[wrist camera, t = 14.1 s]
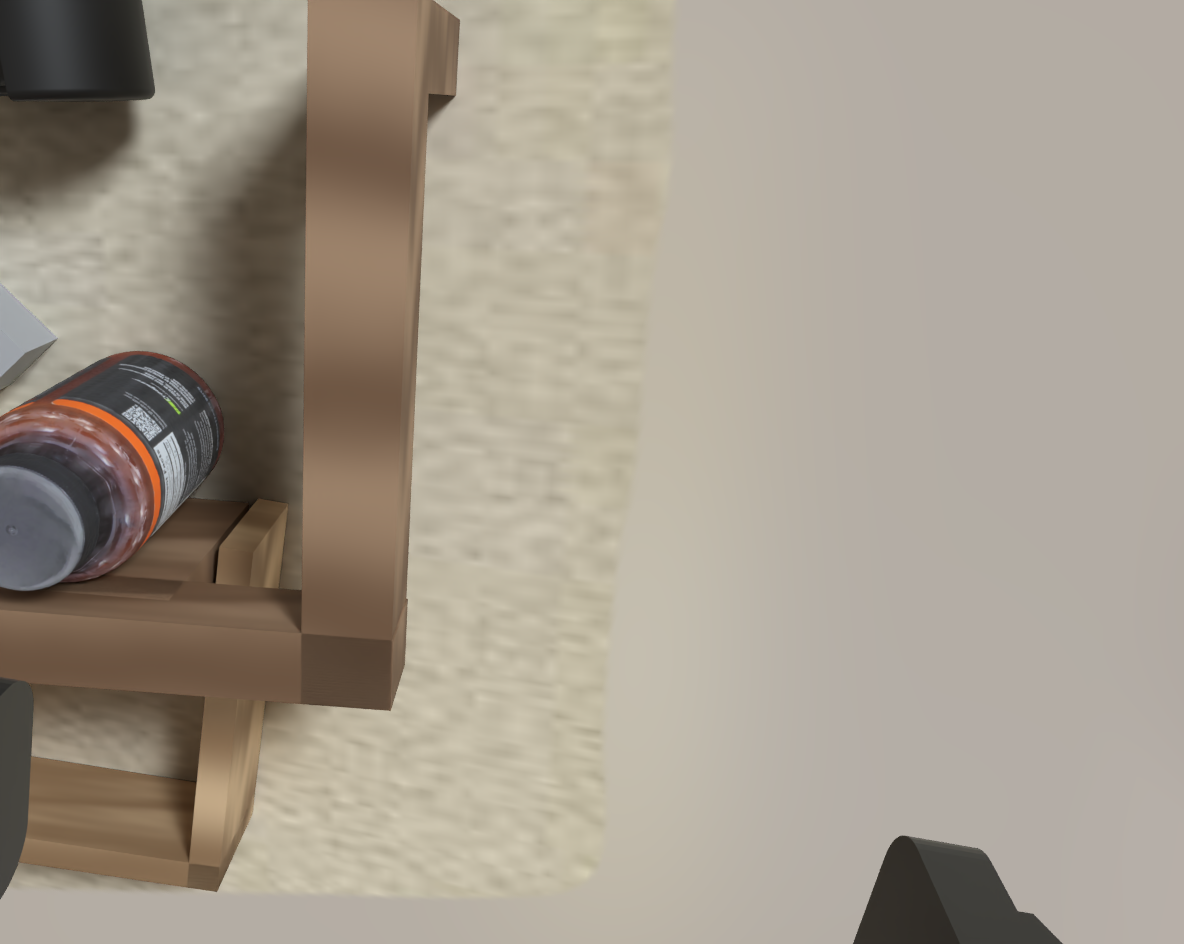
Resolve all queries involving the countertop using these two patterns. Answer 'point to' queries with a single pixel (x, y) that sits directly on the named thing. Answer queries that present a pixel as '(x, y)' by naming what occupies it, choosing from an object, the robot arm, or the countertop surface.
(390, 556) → the walnut crook
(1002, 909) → the robot arm
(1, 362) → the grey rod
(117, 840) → the light wood frame
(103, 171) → the countertop surface
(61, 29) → the black box
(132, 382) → the supplement bottle
